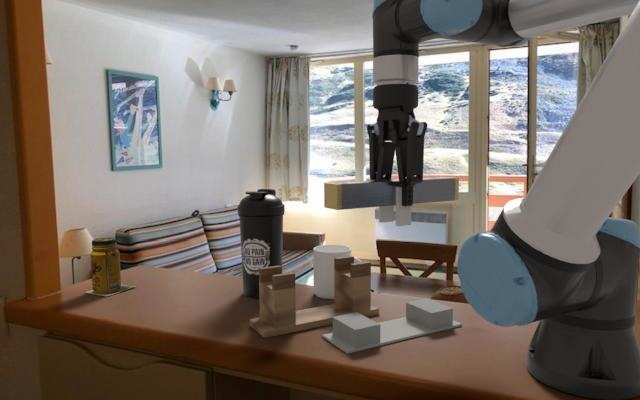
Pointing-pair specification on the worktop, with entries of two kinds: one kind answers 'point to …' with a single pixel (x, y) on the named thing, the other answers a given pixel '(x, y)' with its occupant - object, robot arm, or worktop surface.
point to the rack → (284, 318)
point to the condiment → (106, 268)
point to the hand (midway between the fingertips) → (394, 223)
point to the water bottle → (260, 236)
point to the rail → (387, 192)
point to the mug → (327, 268)
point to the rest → (390, 326)
